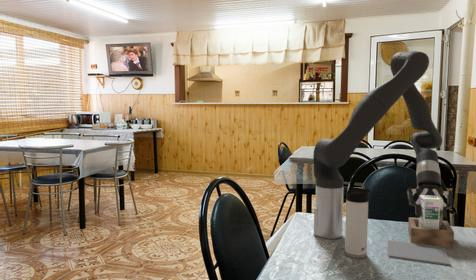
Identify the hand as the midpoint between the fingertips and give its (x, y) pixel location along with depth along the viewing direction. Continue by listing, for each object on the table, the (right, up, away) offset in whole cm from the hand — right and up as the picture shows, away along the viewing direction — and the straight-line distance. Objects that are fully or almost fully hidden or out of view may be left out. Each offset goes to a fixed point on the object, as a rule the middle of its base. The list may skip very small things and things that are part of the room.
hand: (431, 217), depth 117 cm
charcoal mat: (-9, -9, -9) cm, 15 cm away
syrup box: (+1, -8, +2) cm, 8 cm away
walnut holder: (+1, -8, +2) cm, 8 cm away
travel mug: (-28, -9, -10) cm, 31 cm away
